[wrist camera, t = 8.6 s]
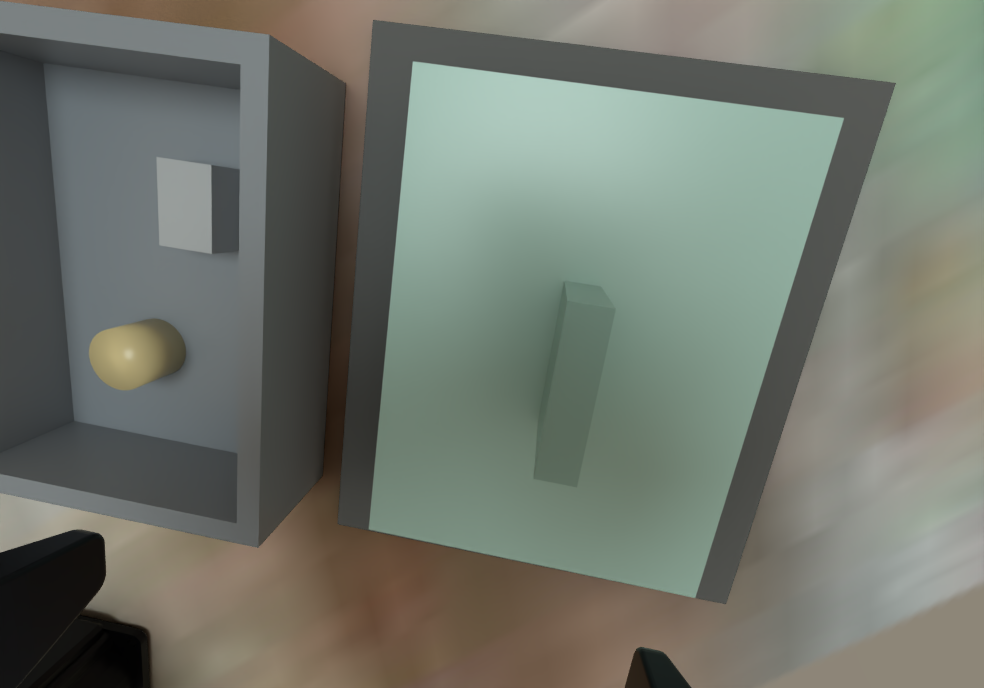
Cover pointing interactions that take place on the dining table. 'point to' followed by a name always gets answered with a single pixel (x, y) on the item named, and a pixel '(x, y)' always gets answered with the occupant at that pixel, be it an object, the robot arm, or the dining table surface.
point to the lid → (584, 316)
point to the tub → (164, 269)
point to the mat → (622, 70)
